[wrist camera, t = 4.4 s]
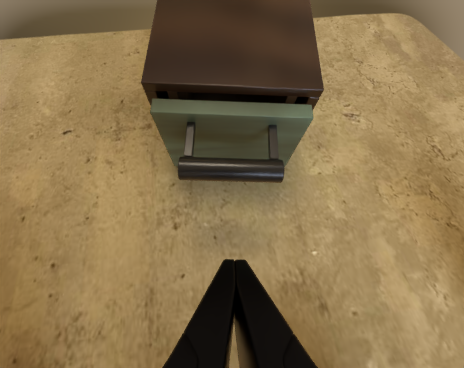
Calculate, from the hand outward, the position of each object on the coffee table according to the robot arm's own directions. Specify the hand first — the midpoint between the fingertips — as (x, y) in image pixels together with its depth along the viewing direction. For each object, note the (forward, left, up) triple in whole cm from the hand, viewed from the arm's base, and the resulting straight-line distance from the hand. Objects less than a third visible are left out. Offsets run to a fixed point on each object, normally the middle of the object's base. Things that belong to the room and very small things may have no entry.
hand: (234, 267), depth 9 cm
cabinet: (+16, +11, -14) cm, 24 cm away
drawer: (+12, +9, -13) cm, 20 cm away
